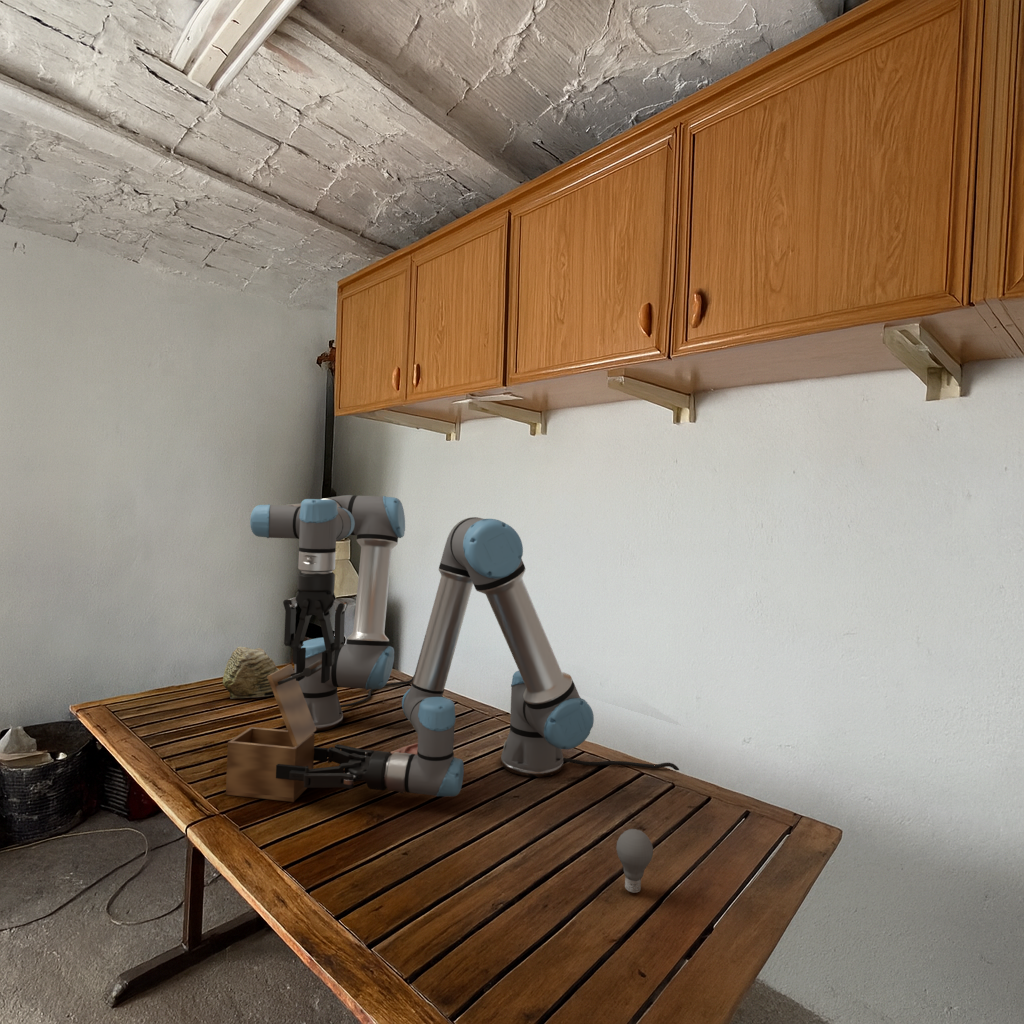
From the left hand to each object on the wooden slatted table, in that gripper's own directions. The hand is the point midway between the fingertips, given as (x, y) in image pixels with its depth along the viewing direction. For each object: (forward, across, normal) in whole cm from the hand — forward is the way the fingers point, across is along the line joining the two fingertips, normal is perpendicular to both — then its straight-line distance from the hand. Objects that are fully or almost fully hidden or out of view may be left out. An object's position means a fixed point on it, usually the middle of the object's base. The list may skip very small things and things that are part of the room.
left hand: (312, 679), depth 135 cm
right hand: (+18, -5, 0) cm, 19 cm away
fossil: (+25, -44, +58) cm, 76 cm away
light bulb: (+24, +67, -23) cm, 75 cm away
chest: (+24, -8, 0) cm, 26 cm away
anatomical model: (+24, +14, +18) cm, 33 cm away
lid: (+6, -5, 0) cm, 7 cm away
